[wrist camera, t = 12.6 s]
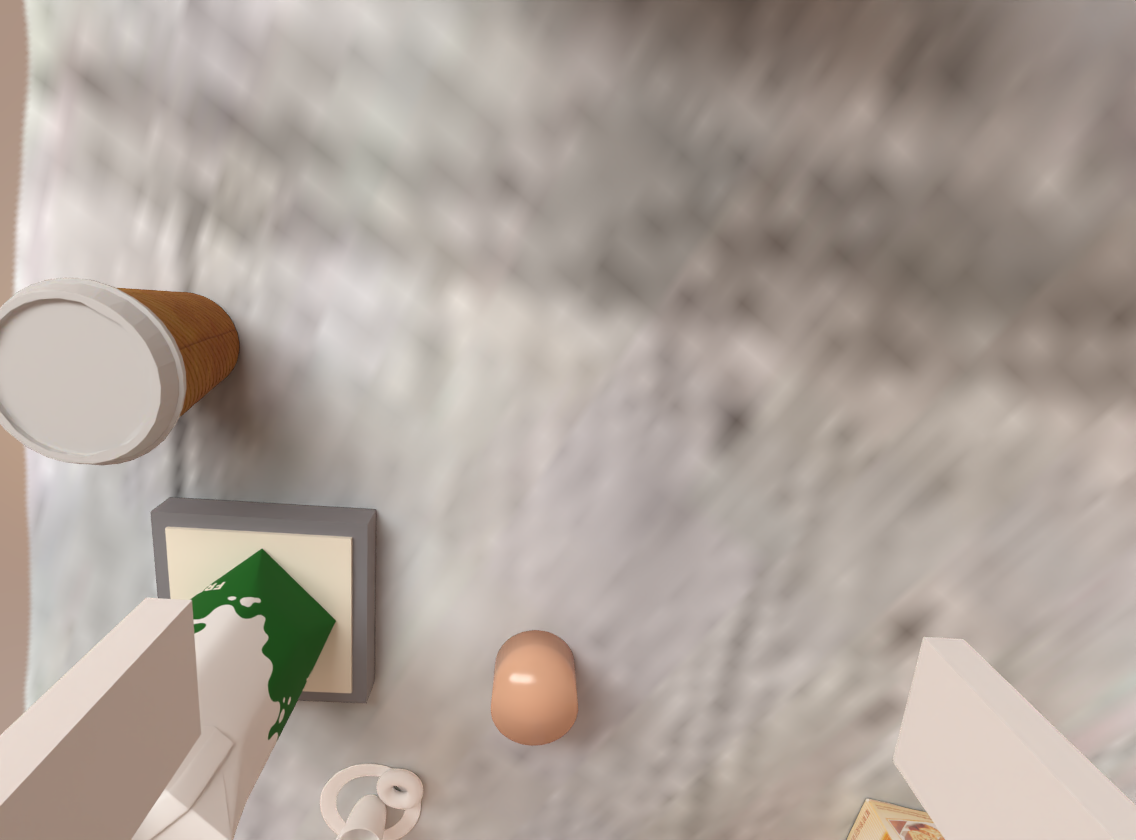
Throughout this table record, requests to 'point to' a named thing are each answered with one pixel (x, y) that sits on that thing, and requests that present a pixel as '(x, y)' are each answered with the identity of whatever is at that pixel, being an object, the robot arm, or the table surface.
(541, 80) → the table surface
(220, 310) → the disposable coffee cup
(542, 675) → the peach capsule
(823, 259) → the table surface
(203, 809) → the soya milk
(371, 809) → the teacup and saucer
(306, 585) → the grey framed square panel
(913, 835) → the coffeecake box
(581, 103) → the table surface
